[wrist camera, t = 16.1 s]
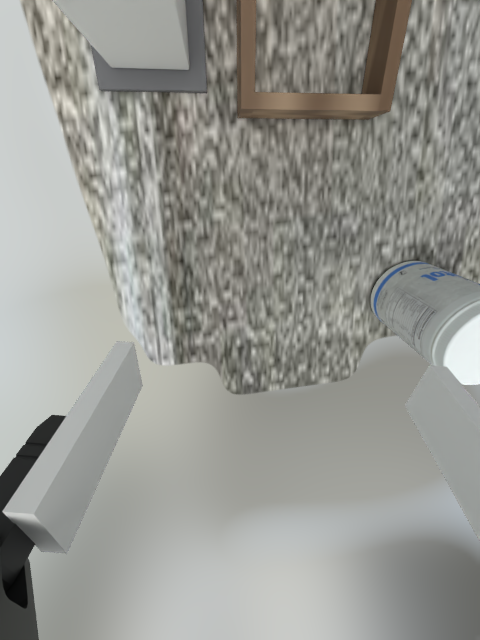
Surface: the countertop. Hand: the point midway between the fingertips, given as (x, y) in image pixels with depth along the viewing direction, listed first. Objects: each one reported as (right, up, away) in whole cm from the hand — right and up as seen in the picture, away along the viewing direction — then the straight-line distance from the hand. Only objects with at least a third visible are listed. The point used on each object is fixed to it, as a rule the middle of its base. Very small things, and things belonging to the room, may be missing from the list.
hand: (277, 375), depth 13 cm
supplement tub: (+21, +7, +26) cm, 34 cm away
